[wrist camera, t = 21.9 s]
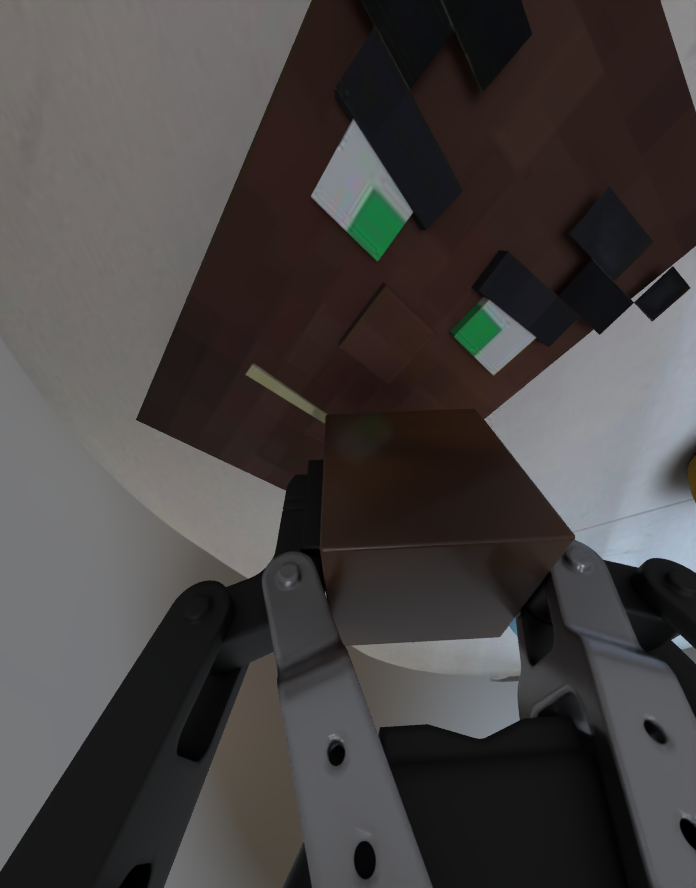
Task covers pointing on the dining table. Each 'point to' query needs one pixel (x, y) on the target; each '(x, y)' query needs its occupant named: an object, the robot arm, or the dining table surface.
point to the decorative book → (432, 219)
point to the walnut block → (429, 528)
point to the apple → (692, 476)
